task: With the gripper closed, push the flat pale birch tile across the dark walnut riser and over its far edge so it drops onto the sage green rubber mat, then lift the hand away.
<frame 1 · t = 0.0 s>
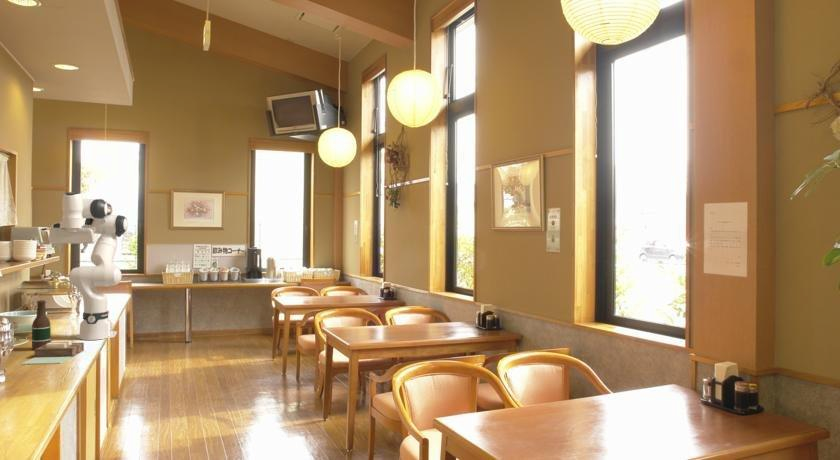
hand: (72, 252, 291), 48 cm above the table, tool pointing down, fingers open, 8 cm apart
walnut riser: (59, 354, 282), on the table
beer bottle: (41, 349, 293), on the table
rubber mat: (47, 360, 269), on the table
birch tile: (58, 346, 281), point 4 cm above the table, touching walnut riser
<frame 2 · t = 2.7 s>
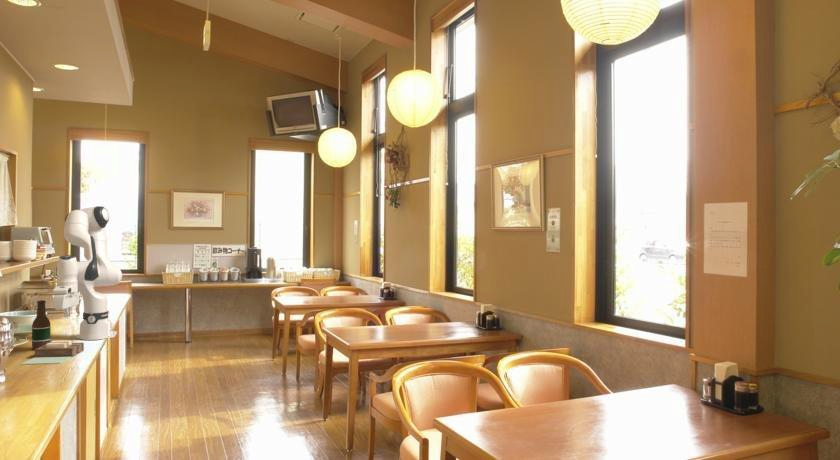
hand: (67, 316, 290), 17 cm above the table, tool pointing down, fingers closed
nothing on the table moved.
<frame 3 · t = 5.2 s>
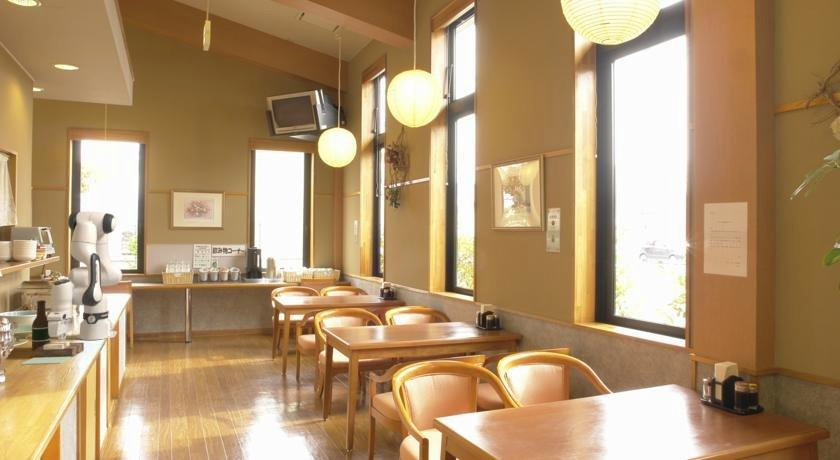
hand: (61, 342, 284), 5 cm above the table, tool pointing down, fingers closed
birch tile: (56, 347, 278), point 4 cm above the table, touching gripper, walnut riser
everything else where it was.
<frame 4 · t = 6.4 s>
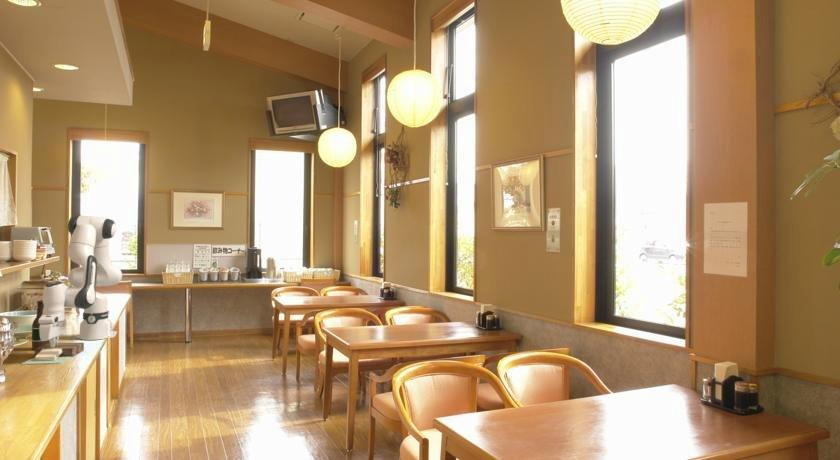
hand: (54, 346, 275), 5 cm above the table, tool pointing down, fingers closed
birch tile: (49, 356, 271), point 1 cm above the table, tilted 15°
everything else where it was.
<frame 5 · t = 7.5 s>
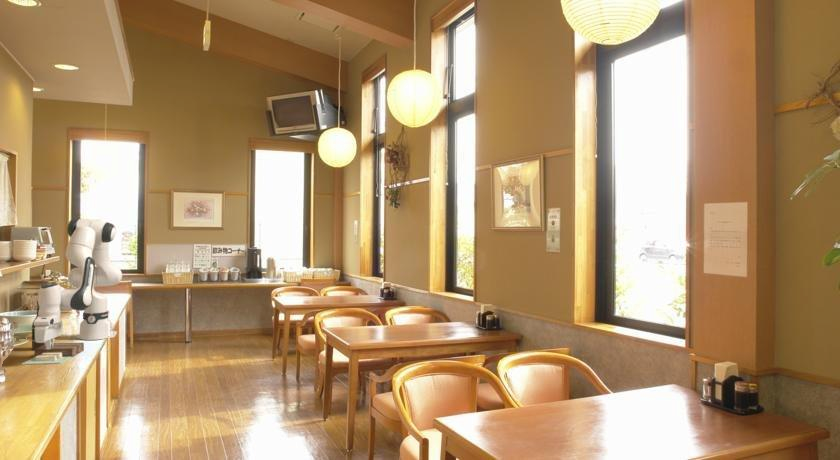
hand: (49, 348, 271), 5 cm above the table, tool pointing down, fingers closed
birch tile: (49, 358, 271), resting on rubber mat
everything else where it was.
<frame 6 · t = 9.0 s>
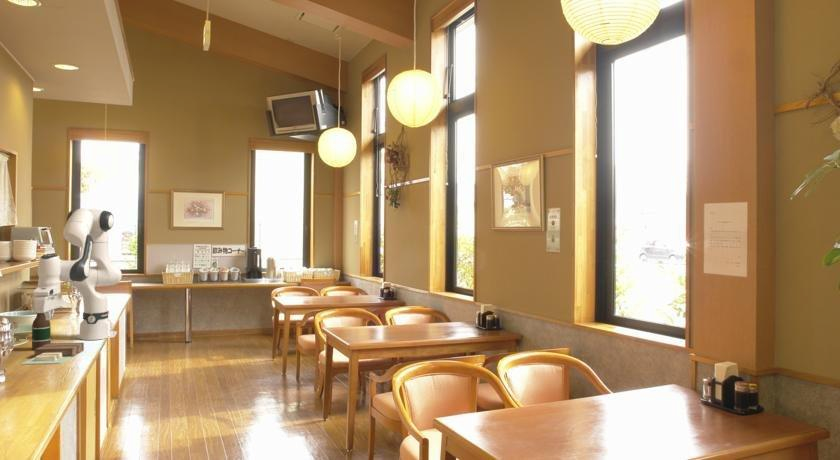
hand: (49, 319, 271), 18 cm above the table, tool pointing down, fingers closed
nothing on the table moved.
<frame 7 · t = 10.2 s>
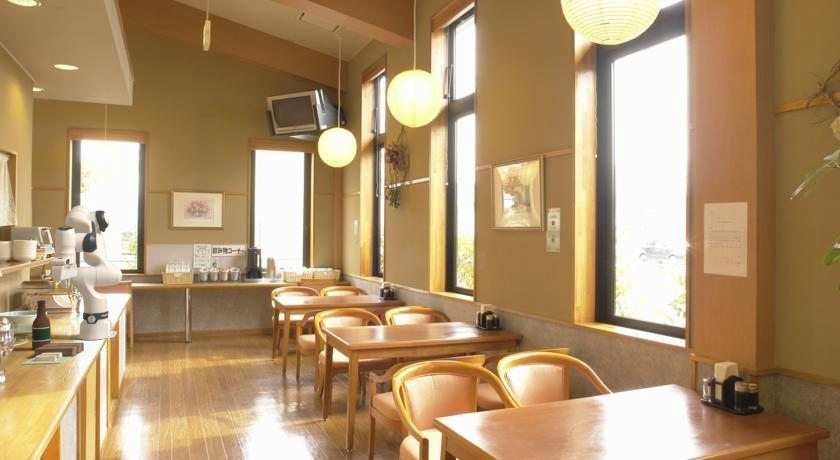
hand: (65, 288, 287), 31 cm above the table, tool pointing down, fingers closed
nothing on the table moved.
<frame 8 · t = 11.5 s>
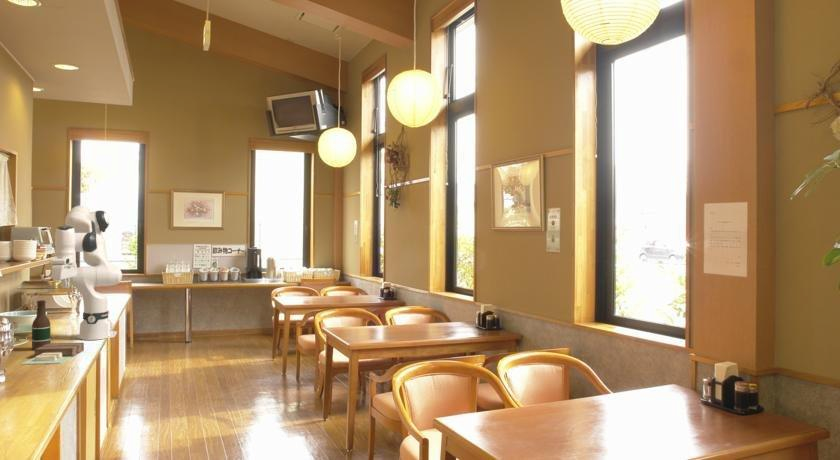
hand: (65, 287, 287), 31 cm above the table, tool pointing down, fingers closed
nothing on the table moved.
at the end: birch tile resting on rubber mat; birch tile inside the target area (2.4 cm from its centre), resting on rubber mat; birch tile tilted 0° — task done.
